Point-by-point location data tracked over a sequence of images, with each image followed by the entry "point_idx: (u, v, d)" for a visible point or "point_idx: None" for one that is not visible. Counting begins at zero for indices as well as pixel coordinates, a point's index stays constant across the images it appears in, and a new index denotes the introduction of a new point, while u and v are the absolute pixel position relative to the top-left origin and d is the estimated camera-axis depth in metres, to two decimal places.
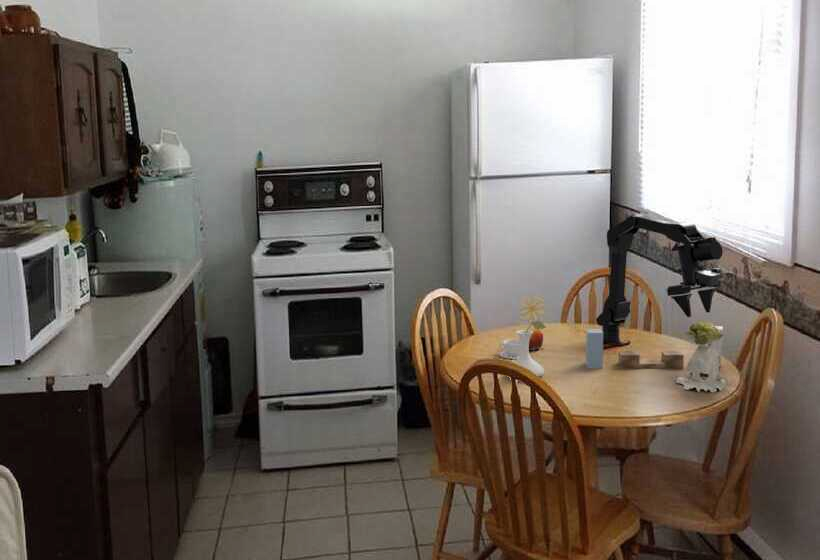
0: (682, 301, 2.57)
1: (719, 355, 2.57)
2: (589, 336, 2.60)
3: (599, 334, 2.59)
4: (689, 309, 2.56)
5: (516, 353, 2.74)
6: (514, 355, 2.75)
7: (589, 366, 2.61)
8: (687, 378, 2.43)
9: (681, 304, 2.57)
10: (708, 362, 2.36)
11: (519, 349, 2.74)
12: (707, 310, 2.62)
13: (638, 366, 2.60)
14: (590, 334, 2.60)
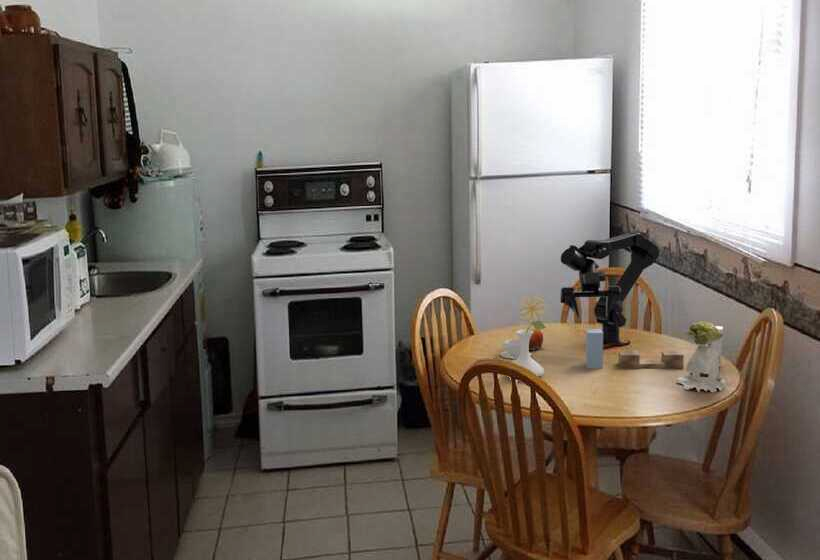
0: (572, 305, 2.73)
1: (719, 355, 2.57)
2: (589, 336, 2.60)
3: (599, 334, 2.59)
4: (576, 309, 2.70)
5: (518, 353, 2.74)
6: (516, 355, 2.75)
7: (589, 366, 2.61)
8: (687, 378, 2.43)
9: (572, 308, 2.72)
10: (708, 362, 2.36)
11: None
12: (607, 315, 2.69)
13: (638, 366, 2.60)
14: (590, 334, 2.60)
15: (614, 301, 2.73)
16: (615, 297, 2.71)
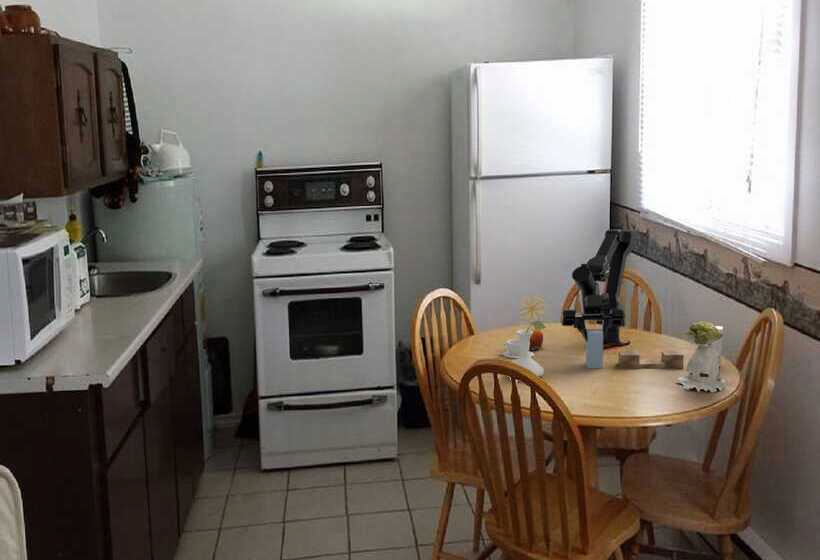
0: (581, 328, 2.64)
1: (719, 355, 2.57)
2: (589, 336, 2.60)
3: (599, 334, 2.59)
4: (585, 333, 2.62)
5: (520, 353, 2.75)
6: (518, 355, 2.75)
7: (589, 366, 2.61)
8: (687, 378, 2.43)
9: (581, 331, 2.64)
10: (708, 362, 2.36)
11: None
12: None
13: (638, 366, 2.60)
14: (590, 334, 2.60)
15: (610, 325, 2.65)
16: (611, 321, 2.63)
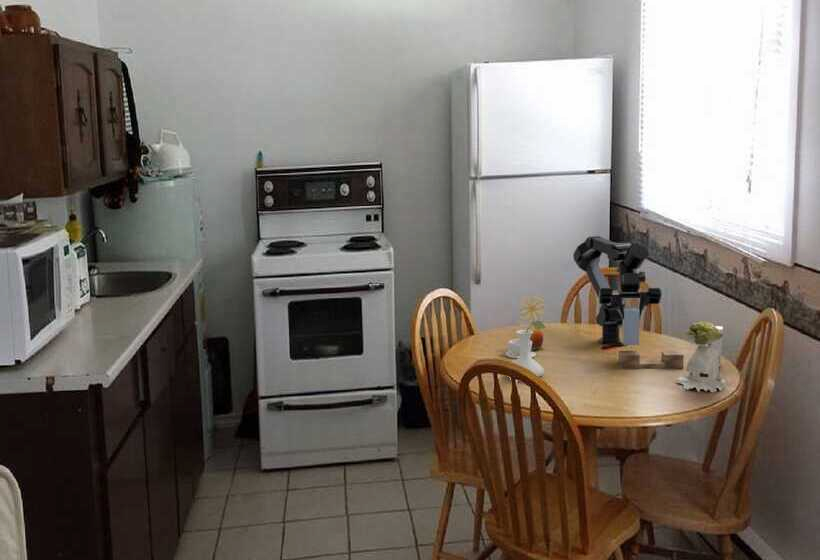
0: (618, 306, 2.69)
1: (719, 355, 2.57)
2: (625, 313, 2.64)
3: (635, 312, 2.64)
4: (621, 310, 2.66)
5: None
6: None
7: (625, 343, 2.66)
8: (687, 378, 2.43)
9: (618, 309, 2.69)
10: (708, 362, 2.36)
11: None
12: None
13: (638, 366, 2.60)
14: (626, 311, 2.64)
15: (647, 303, 2.69)
16: (648, 299, 2.67)
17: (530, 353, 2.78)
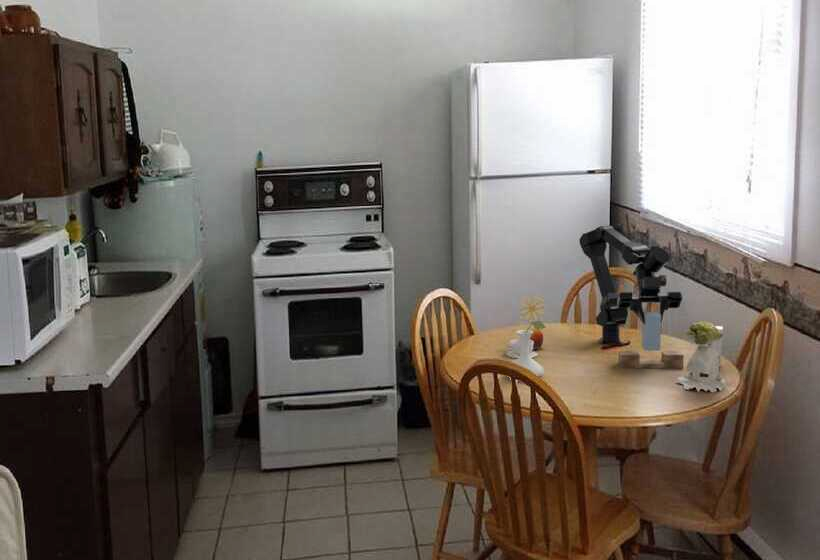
0: (638, 311, 2.62)
1: (719, 355, 2.57)
2: (647, 318, 2.57)
3: (657, 316, 2.57)
4: (642, 315, 2.59)
5: None
6: None
7: (646, 349, 2.59)
8: (687, 378, 2.43)
9: (638, 313, 2.62)
10: (708, 362, 2.36)
11: None
12: None
13: (638, 366, 2.60)
14: (648, 316, 2.57)
15: (667, 307, 2.63)
16: (668, 303, 2.61)
17: (531, 353, 2.79)
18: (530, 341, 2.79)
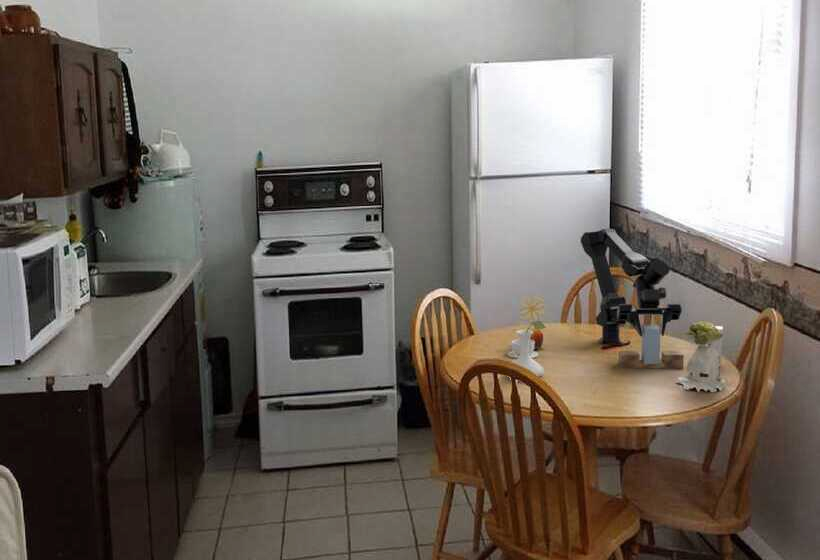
0: (635, 323, 2.63)
1: (719, 355, 2.57)
2: (646, 332, 2.58)
3: (656, 330, 2.58)
4: (639, 327, 2.60)
5: None
6: None
7: (646, 362, 2.60)
8: (687, 378, 2.43)
9: (635, 325, 2.63)
10: (708, 362, 2.36)
11: None
12: (662, 333, 2.59)
13: (638, 366, 2.60)
14: (647, 330, 2.58)
15: (669, 319, 2.63)
16: (670, 315, 2.61)
17: (532, 353, 2.78)
18: (531, 341, 2.78)
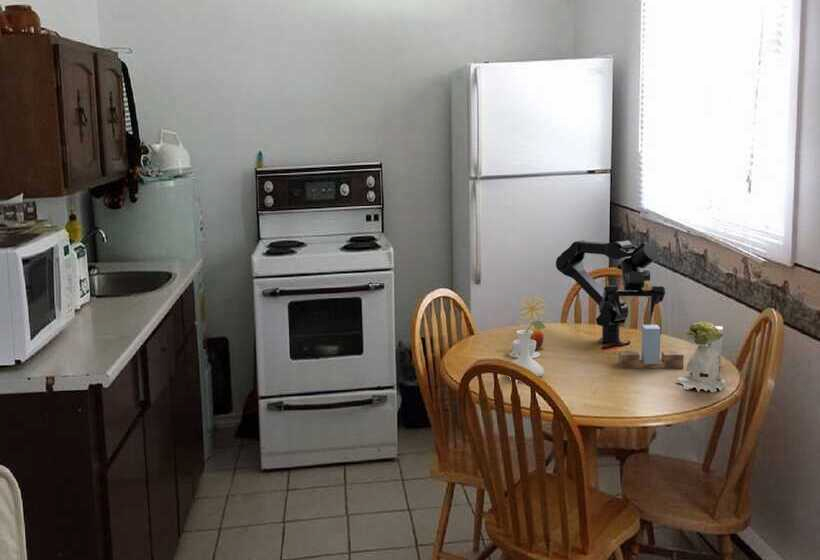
0: (615, 304, 2.73)
1: (719, 355, 2.57)
2: (646, 332, 2.58)
3: (656, 330, 2.58)
4: (619, 308, 2.70)
5: None
6: None
7: (646, 362, 2.60)
8: (687, 378, 2.43)
9: (615, 307, 2.72)
10: (708, 362, 2.36)
11: (530, 349, 2.74)
12: (650, 314, 2.69)
13: (638, 366, 2.60)
14: (647, 330, 2.58)
15: (657, 301, 2.73)
16: (659, 297, 2.71)
17: (534, 353, 2.78)
18: (533, 341, 2.78)
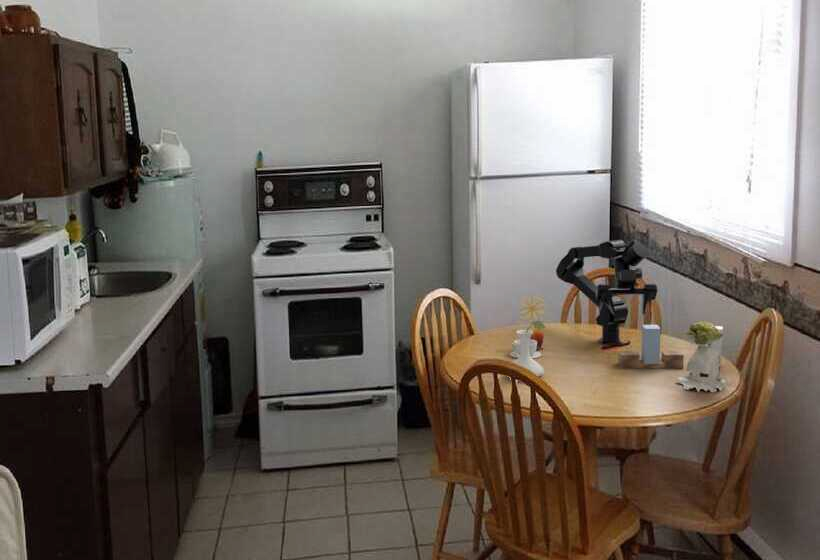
0: (608, 302, 2.74)
1: (719, 355, 2.57)
2: (646, 332, 2.58)
3: (656, 330, 2.58)
4: (612, 306, 2.72)
5: None
6: None
7: (646, 362, 2.60)
8: (687, 378, 2.43)
9: (608, 305, 2.74)
10: (708, 362, 2.36)
11: (531, 349, 2.74)
12: (643, 312, 2.71)
13: (638, 366, 2.60)
14: (647, 330, 2.58)
15: (650, 299, 2.75)
16: (651, 295, 2.73)
17: (535, 353, 2.78)
18: (533, 341, 2.78)
